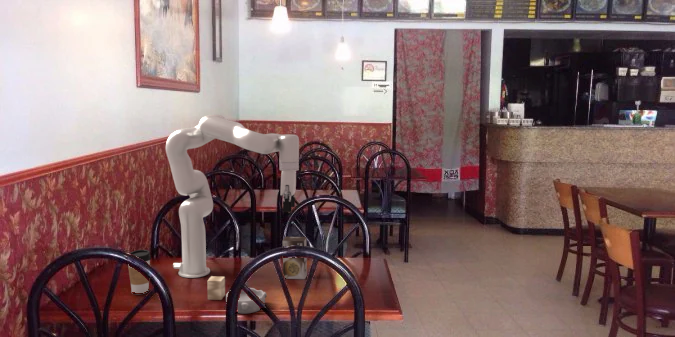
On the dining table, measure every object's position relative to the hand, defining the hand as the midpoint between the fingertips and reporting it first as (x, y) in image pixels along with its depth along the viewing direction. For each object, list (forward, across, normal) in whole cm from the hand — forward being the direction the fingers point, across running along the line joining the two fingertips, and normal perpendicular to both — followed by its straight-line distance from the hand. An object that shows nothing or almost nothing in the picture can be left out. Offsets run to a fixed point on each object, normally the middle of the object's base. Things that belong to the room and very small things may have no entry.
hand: (288, 209), depth 216 cm
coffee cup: (+29, +17, -54) cm, 63 cm away
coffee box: (+29, -4, +2) cm, 29 cm away
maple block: (+29, +21, -24) cm, 43 cm away
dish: (+29, +29, -11) cm, 43 cm away
